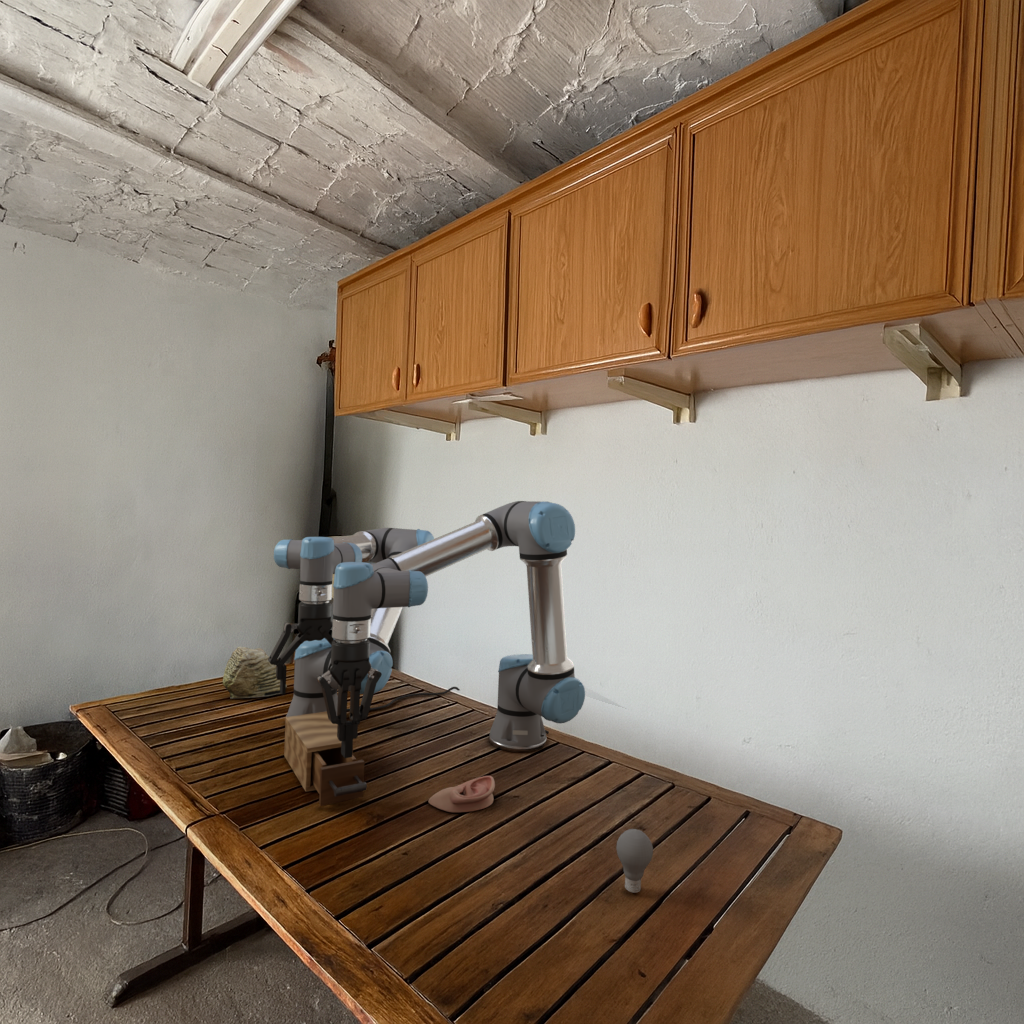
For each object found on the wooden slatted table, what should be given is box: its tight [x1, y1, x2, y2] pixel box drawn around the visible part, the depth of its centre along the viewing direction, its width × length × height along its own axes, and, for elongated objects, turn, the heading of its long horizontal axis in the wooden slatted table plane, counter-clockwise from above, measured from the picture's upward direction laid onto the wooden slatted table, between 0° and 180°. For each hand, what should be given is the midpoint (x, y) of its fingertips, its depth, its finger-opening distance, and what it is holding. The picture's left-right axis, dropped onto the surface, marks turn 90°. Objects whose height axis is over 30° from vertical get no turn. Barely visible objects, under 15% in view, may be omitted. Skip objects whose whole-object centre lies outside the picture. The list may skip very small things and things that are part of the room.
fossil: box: [222, 646, 288, 699], centre depth 198 cm, size 9×18×15 cm, turn 132°
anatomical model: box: [427, 775, 496, 813], centre depth 134 cm, size 13×4×12 cm
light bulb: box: [615, 828, 654, 894], centre depth 106 cm, size 6×6×10 cm
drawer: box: [311, 747, 368, 807], centre depth 136 cm, size 26×9×8 cm, turn 32°
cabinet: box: [283, 711, 354, 793], centre depth 147 cm, size 21×10×9 cm, turn 32°
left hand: (312, 689), depth 152 cm, fingers open, 13 cm apart
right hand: (346, 755), depth 128 cm, fingers closed
